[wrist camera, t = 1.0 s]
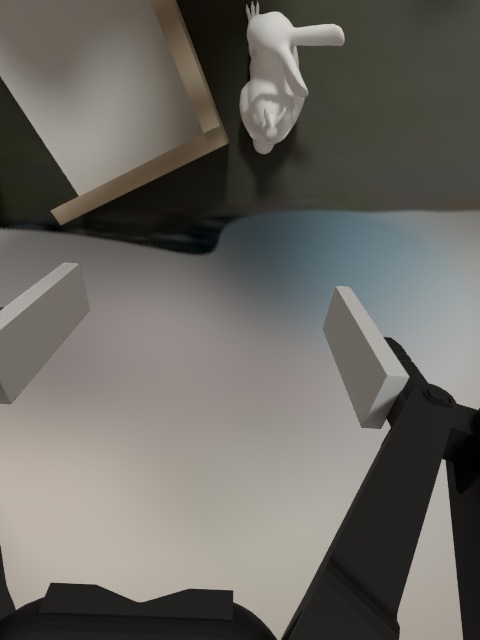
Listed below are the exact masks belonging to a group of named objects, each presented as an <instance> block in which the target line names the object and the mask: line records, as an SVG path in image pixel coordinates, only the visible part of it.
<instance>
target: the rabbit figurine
mask: <svg viewBox="0 0 480 640" xmlns="http://www.w3.org/2000/svg"><path fill="white" fill-rule="evenodd" d="M254 8H255V6H254V5H253V2H252V6H251V14H250V10H249V8H248V6H247V4H246V13H247V17H248V22H249V24H248V28H247V40H248V42H249V54H250V57H251V63H250V76H251V77H250V81H249V82H248V83H247V84H246V85H245V87H244V88H243V89H242V91H241V95H240V104H239V108H240V115H241V119H242V121H243V124H244V126H245V128H246V129H247V131H248V133H249V135H250V136H251V137H252V139H253V145H254V148H255V150H256V151H257V152H258V153H260V154H267V153H269V152H270V151H271V150H272V148H273V146H274V144H276V143H278V142H280V141H282V140H283V139H284V138H285V137H286V136H287V135H288V133H289V132H290V130H291V129H292V127H293V126H294V124H295V122H296V121H297V119H298V116H299V114H300V112H301V110H302V107H303V103H304V99H305V97H307V95H308V90H307V88H306V86H305V83H304V81H303V79H302V77H301V74H300V72H299V69H298V67H299V61H298V54H297V48H296V46H297V45H306V46H321V45H333V46H343V44H344V41H345V39H344V33H343V31H342V29H341V27H339V26H336V25H335V24H323V25H314V26H307V27H300V28H294V27H293V26H292V24H291V23H290V21H289V20H288V19H287V18H286V17H285V16H284V15H283V14H281V13H280V12H269V13H266V14H260V15H259V4H258V1H257V6H256V14H255V10H254Z"/></svg>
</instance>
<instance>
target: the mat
mask: <svg viewBox="0 0 480 640" xmlns="http://www.w3.org/2000/svg"><path fill="white" fill-rule="evenodd" d="M0 76H1V78H2V79H3V81H4V83H5V84H6V86H7V87H8V89H9V90H10V92H11V93H12V95H13V96H14V98H15V99H16V101H17V102H18V104H19V105H20V107H21V108H22V110H23V111H24V113H25V115H26V116H27V118H28V119H29V121H30V122H31V124H32V125H33V127H34V128H35V130H36V131H37V133H38V134H39V136H40V137H41V139H42V140H43V142H44V143H45V145H46V147H47V148H48V150H49V151H50V153H51V154H52V156H53V157H54V159H55V160H56V162H57V163H58V165H59V166H60V168H61V169H62V171H63V172H64V174H65V175H66V177H67V178H68V180H69V182H70V183H71V185H72V186H73V188H74V189H75V191H76V192H77V194H78V195H79V196H81V195H83V194H85V193H87V192H89V191H91V190H93V189H95V188H97V187H99V186H101V185H103V184H105V183H107V182H108V181H110V180H112V179H114V178H116V177H118V176H120V175H122V174H124V173H126V172H128V171H130V170H132V169H134V168H136V167H138V166H140V165H142V164H144V163H146V162H148V161H150V160H152V159H154V158H156V157H158V156H160V155H162V154H164V153H166V152H168V151H170V150H172V149H174V148H176V147H178V146H180V145H182V144H184V143H186V142H188V141H190V140H192V139H194V138H196V137H198V136H200V135H202V134H204V133H203V130H202V128H201V125H200V123H199V120H198V118H197V115H196V113H195V110H194V108H193V105H192V103H191V101H190V98H189V96H188V93H187V91H186V88H185V86H184V83H183V81H182V78H181V76H180V73H179V71H178V68H177V66H176V64H175V61H174V59H173V56H172V54H171V51H170V49H169V46H168V44H167V41H166V39H165V36H164V34H163V32H162V29H161V27H160V24H159V22H158V19H157V17H156V14H155V12H154V9H153V7H152V4H151V2H150V0H0Z"/></svg>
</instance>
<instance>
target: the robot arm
mask: <svg viewBox="0 0 480 640" xmlns="http://www.w3.org/2000/svg"><path fill="white" fill-rule="evenodd" d="M89 310H90V309H89V305H88V301H87V296H86V291H85V286H84V282H83V277H82V273H81V269H80V264H78V263H67V262H64V263H63V264H61V265H60V266H58V267H57V268H56V269H54V270H53V271H52V272H51V273H49V274H48V275H47V276H45V277H44V278H43V279H41V280H40V281H39V282H37V283H36V284H35V285H33V286H32V287H31V288H29V289H28V290H27V291H25V292H24V293H23V294H22V295H20V296H19V297H17V298H16V299H15V300H13V301H12V302H11V303H10V304H8V305H7V306H6V307H4V308H3V307H2V308H0V403H3V404H12V403H13V401H14V400H15V399H16V398H17V397H18V395H19V394H20V393H21V392H22V391H23V389H24V388H25V387H26V386H27V385H28V383H29V382H30V381H31V380H32V379H33V377H34V376H35V375H36V374H37V373H38V371H39V370H40V369H41V368H42V367H43V365H44V364H45V363H46V362H47V361H48V359H49V358H50V357H51V356H52V355H53V353H54V352H55V351H56V350H57V349H58V347H59V346H60V345H61V344H62V343H63V341H64V340H65V339H66V338H67V337H68V335H69V334H70V333H71V332H72V331H73V330H74V328H75V327H76V326H77V325H78V324H79V322H80V321H81V320H82V319H83V318H84V316H85V315H86V314H87V313H88V312H89ZM323 331H324V333H325V336H326V339H327V341H328V344H329V346H330V349H331V351H332V354H333V356H334V359H335V362H336V364H337V367H338V369H339V372H340V374H341V377H342V379H343V382H344V384H345V387H346V389H347V392H348V395H349V397H350V400H351V402H352V405H353V407H354V410H355V412H356V415H357V417H358V420H359V423H360V425H361V427H362V428H375V429H381V428H382V426H383V424H384V422H385V420H386V419H387V420H388V422H389V424H390V426H391V429H390V431H389V432H388V434H387V436H386V437H385V439H384V441H383V443H382V445H381V448H380V450H379V452H378V454H377V456H376V457H375V459H374V461H373V463H372V465H371V467H370V469H369V471H368V473H367V475H366V477H365V479H364V481H363V483H362V485H361V487H360V489H359V491H358V493H357V494H356V497H355V498H354V500H353V502H352V504H351V506H350V508H349V510H348V512H347V514H346V516H345V518H344V520H343V522H342V524H341V526H340V528H339V529H338V531H337V533H336V535H335V537H334V539H333V541H332V543H331V545H330V547H329V549H328V551H327V553H326V555H325V557H324V559H323V561H322V563H321V565H320V566H319V569H318V570H317V572H316V575H315V576H314V578H313V580H312V582H311V584H310V586H309V588H308V590H307V592H306V594H305V596H304V598H303V599H302V601H301V603H300V605H299V607H298V608H297V610H296V612H295V614H294V616H293V618H292V620H291V622H290V623H289V625H288V627H287V629H286V631H285V633H284V635H283V637H282V639H281V640H399V633H400V626H399V624H398V622H397V612H398V608H399V604H400V601H401V598H402V594H403V591H404V587H405V584H406V580H407V577H408V574H409V570H410V567H411V563H412V560H413V556H414V553H415V549H416V546H417V543H418V539H419V536H420V532H421V529H422V525H423V522H424V519H425V515H426V512H427V508H428V505H429V501H430V498H431V494H432V491H433V488H434V484H435V481H436V477H437V474H438V470H439V467H440V463H441V460H442V459H444V460H446V469H447V479H448V488H449V499H450V509H451V519H452V530H453V540H454V550H455V559H456V570H457V580H458V591H459V600H460V611H461V621H462V631H463V640H480V408H479V410H476V409H473V408H469V407H466V406H463V405H459V404H456V401H455V400H454V398H453V397H452V396H451V395H450V394H449V393H448V392H446V391H445V390H443V389H442V388H440V387H438V386H435V385H433V384H428V382H427V381H426V380H425V378H424V377H423V375H422V374H421V373H420V371H419V370H418V368H417V367H416V366H415V364H414V363H413V362H411V359H410V357H409V356H408V355H407V353H406V352H405V350H404V349H403V348H402V346H401V345H400V344H398V343H397V342H396V341H395V340H393V339H392V338H387V337H383V336H382V335H381V333H380V332H379V330H378V329H377V327H376V326H375V324H374V323H373V321H372V320H371V318H370V317H369V315H368V314H367V312H366V311H365V310H364V308H363V306H362V305H361V303H360V302H359V300H358V299H357V297H356V296H355V294H354V293H353V291H352V290H351V288H350V287H343V286H335V289H334V293H333V296H332V300H331V303H330V306H329V310H328V313H327V316H326V320H325V323H324V327H323ZM0 640H277V639H276V637H275V636H274V635H273V633H272V632H271V630H270V629H269V628H268V627H267V626H266V625H265V624H264V623H263V622H262V621H261V620H260V619H259V618H258V617H257V616H256V615H254V614H253V613H252V612H250V611H249V610H247V609H246V608H244V607H243V606H240V605H238V604H236V603H234V602H233V591H230V590H207V589H187V590H183V591H180V592H177V593H173V594H170V595H166V596H163V597H160V598H157V599H153V600H149V601H146V602H141V603H140V602H135V601H133V600H130V599H128V598H126V597H123V596H121V595H119V594H116V593H114V592H112V591H110V590H107V589H105V588H103V587H100V586H98V585H91V584H67V583H50V586H49V588H48V590H47V593H46V595H45V597H43V598H40V599H38V600H36V601H33V602H31V603H28V604H26V605H24V606H23V607H21V608H19V609H17V610H16V609H15V606H14V603H13V600H12V598H11V596H10V594H9V591H8V588H7V585H6V580H5V573H4V567H3V560H2V553H1V547H0Z"/></svg>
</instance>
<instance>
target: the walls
mask: <svg viewBox="0 0 480 640" xmlns="http://www.w3.org/2000/svg"><path fill="white" fill-rule="evenodd" d="M150 2H151V4H152V7H153V9H154V12H155V14H156V17H157V19H158V22H159V24H160V27H161V29H162V32H163V34H164V36H165V39H166V41H167V44H168V46H169V49H170V51H171V54H172V56H173V59H174V61H175V64H176V66H177V68H178V71H179V73H180V76H181V78H182V81H183V83H184V86H185V88H186V91H187V93H188V96H189V98H190V101H191V103H192V105H193V108H194V110H195V113H196V115H197V118H198V120H199V123H200V125H201V128H202V130H203V133H204V134H202V135H200V136H198V137H196V138H194V139H192V140H190V141H188V142H186V143H184V144H182V145H180V146H178V147H176V148H174V149H172V150H170V151H168V152H166V153H164V154H162V155H160V156H158V157H156V158H154V159H152V160H150V161H148V162H146V163H144V164H142V165H140V166H138V167H136V168H134V169H132V170H130V171H128V172H126V173H124V174H122V175H120V176H118V177H116V178H114V179H112V180H110V181H108V182H107V183H105V184H103V185H101V186H99V187H97V188H95V189H93V190H91V191H89V192H87V193H85V194H83V195H81V196H79V197H77V198H75V199H73V200H71V201H69V202H67V203H65V204H63V205H61V206H59V207H57V208H55V209H53V210H51V212H52V214H53V215H54V216H55V218H56V219H57V221H58V222H59V223H60V225H62V224H64V223H66V222H68V221H70V220H72V219H74V218H76V217H78V216H80V215H83V214H85V213H87V212H89V211H91V210H93V209H95V208H97V207H99V206H101V205H103V204H105V203H107V202H109V201H111V200H113V199H115V198H117V197H119V196H121V195H124V194H126V193H128V192H130V191H132V190H134V189H136V188H138V187H140V186H142V185H144V184H146V183H148V182H150V181H152V180H154V179H156V178H158V177H160V176H163V175H165V174H167V173H169V172H171V171H173V170H175V169H177V168H179V167H181V166H183V165H185V164H187V163H189V162H191V161H193V160H195V159H197V158H199V157H201V156H204V155H206V154H208V153H210V152H212V151H214V150H216V149H218V148H220V147H222V146H224V145H226V144H228V143H229V140H228V138H227V135H226V132H225V130H224V127H223V124H222V122H221V119H220V116H219V114H218V111H217V108H216V106H215V103H214V100H213V98H212V95H211V92H210V89H209V87H208V84H207V81H206V79H205V76H204V73H203V71H202V68H201V65H200V63H199V60H198V57H197V55H196V52H195V49H194V47H193V44H192V41H191V38H190V36H189V33H188V30H187V28H186V25H185V22H184V20H183V17H182V14H181V12H180V9H179V6H178V4H177V1H176V0H150Z"/></svg>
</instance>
